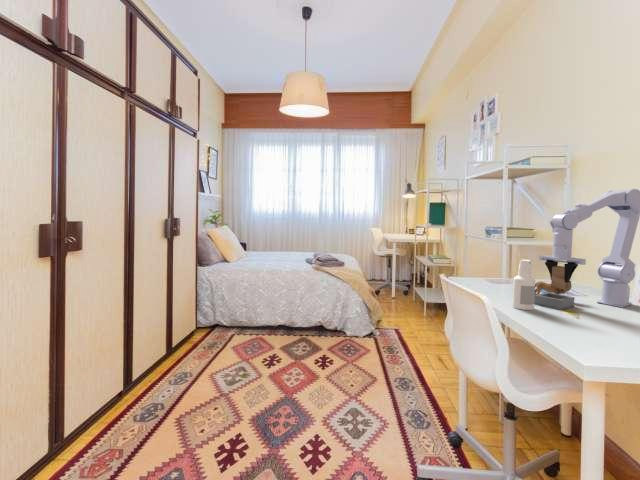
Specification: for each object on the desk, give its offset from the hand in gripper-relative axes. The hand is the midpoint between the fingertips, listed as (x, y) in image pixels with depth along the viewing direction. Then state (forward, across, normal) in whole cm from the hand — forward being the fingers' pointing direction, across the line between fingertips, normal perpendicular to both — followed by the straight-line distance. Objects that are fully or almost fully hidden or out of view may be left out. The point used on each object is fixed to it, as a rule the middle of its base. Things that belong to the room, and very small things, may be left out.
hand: (560, 281), depth 122 cm
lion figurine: (+10, -7, +9) cm, 15 cm away
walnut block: (+2, 0, 0) cm, 3 cm away
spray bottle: (+10, -5, -15) cm, 19 cm away
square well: (+10, -1, -1) cm, 10 cm away
